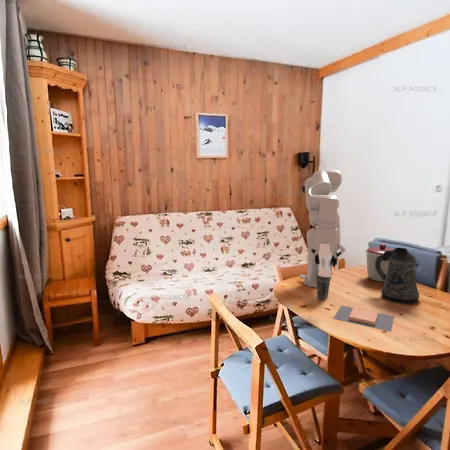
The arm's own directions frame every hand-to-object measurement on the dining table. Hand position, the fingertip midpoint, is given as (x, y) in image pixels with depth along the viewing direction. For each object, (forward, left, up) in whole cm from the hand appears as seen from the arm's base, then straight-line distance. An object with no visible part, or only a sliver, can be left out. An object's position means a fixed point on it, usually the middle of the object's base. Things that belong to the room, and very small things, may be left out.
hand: (325, 264), depth 143 cm
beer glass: (0, 0, -5) cm, 5 cm away
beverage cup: (-4, +13, -21) cm, 25 cm away
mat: (+17, 0, -21) cm, 27 cm away
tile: (+17, +4, -20) cm, 26 cm away
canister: (+17, +59, -21) cm, 65 cm away
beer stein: (+27, +32, -21) cm, 47 cm away
